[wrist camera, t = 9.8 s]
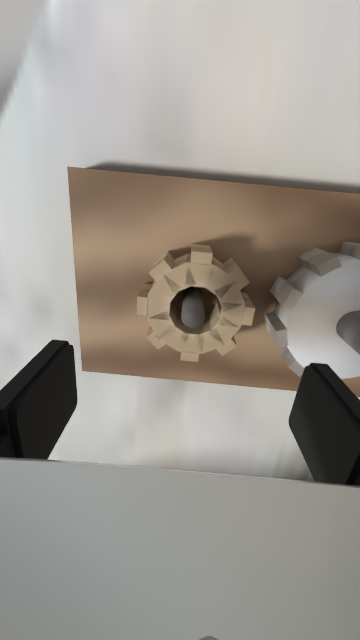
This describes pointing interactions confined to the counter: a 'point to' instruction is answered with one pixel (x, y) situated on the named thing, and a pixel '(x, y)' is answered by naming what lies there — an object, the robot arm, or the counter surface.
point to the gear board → (225, 242)
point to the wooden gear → (218, 321)
